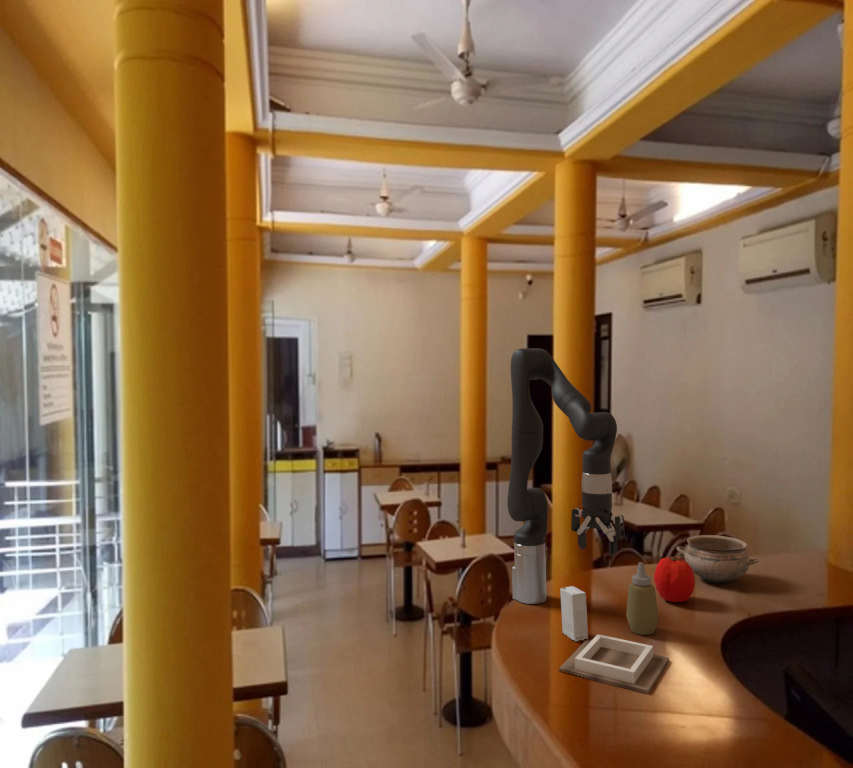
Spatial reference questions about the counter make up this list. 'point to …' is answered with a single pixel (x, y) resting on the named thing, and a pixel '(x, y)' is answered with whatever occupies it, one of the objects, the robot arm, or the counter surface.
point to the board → (621, 660)
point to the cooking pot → (717, 557)
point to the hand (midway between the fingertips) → (597, 551)
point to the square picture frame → (611, 670)
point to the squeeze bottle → (642, 603)
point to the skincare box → (574, 613)
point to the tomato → (674, 579)
